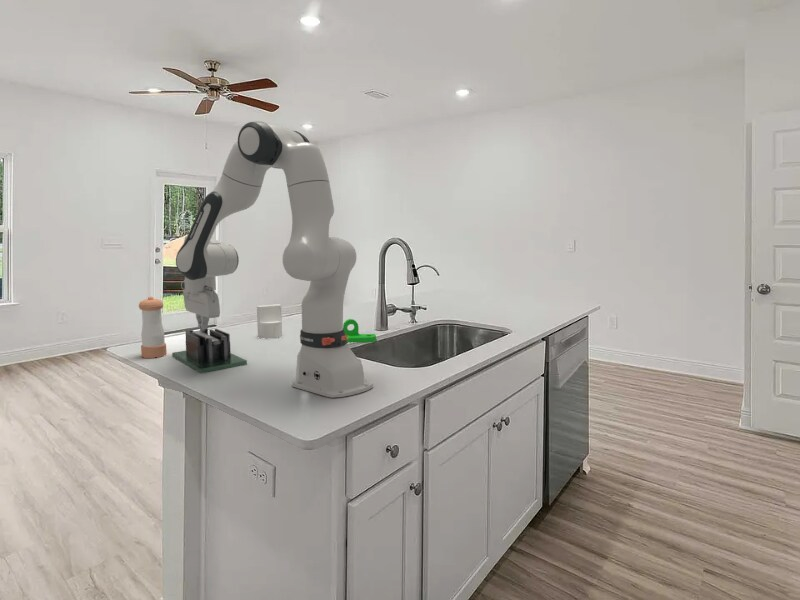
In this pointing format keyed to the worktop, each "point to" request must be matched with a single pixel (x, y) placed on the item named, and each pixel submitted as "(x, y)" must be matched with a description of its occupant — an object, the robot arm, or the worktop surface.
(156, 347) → the pepper shaker
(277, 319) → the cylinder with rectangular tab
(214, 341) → the steel strap
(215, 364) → the cooling board
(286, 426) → the worktop surface
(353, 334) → the mechanical part
